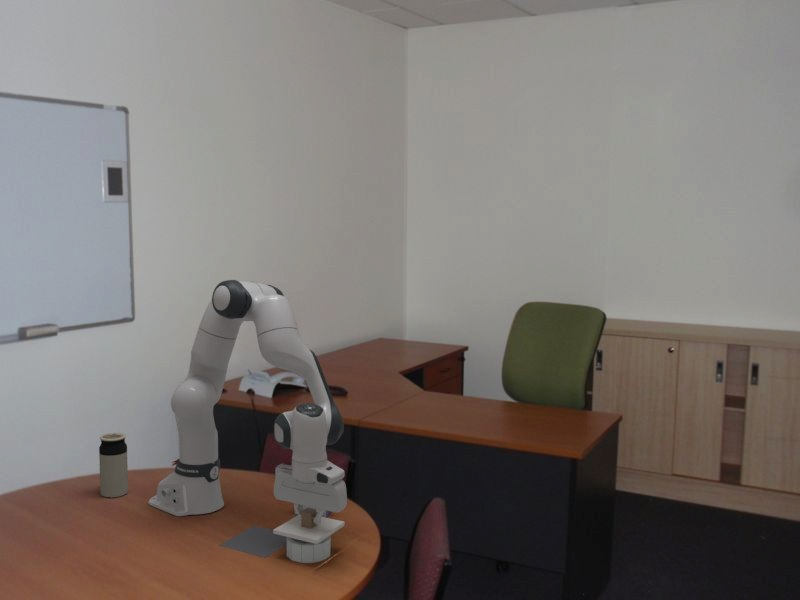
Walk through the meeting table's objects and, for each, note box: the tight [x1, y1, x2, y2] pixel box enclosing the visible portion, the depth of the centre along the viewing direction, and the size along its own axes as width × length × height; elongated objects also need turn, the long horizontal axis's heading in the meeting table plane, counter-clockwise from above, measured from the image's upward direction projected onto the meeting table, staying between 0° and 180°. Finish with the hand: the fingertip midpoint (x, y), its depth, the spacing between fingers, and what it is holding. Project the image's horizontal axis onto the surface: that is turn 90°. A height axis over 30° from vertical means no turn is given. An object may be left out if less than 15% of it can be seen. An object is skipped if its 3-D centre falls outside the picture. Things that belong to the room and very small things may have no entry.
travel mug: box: [98, 432, 129, 499], centre depth 251 cm, size 8×8×18 cm
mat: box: [218, 525, 287, 558], centre depth 219 cm, size 15×15×1 cm
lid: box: [272, 508, 346, 544], centre depth 211 cm, size 13×13×5 cm
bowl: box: [286, 534, 332, 564], centre depth 211 cm, size 11×11×5 cm
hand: (309, 521), depth 211 cm, fingers closed on lid, 3 cm apart
